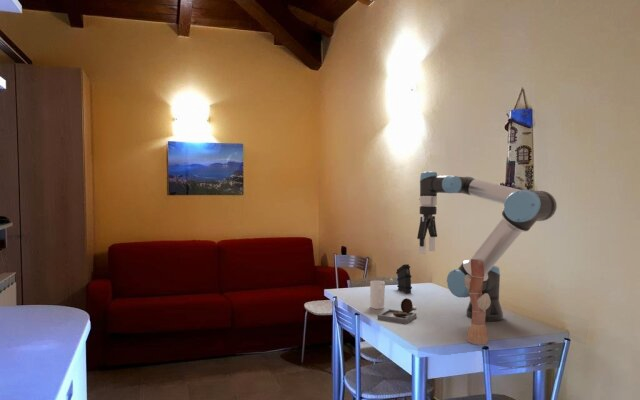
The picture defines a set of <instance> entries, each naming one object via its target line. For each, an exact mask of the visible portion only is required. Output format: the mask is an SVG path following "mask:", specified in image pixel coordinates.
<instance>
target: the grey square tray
mask: <svg viewBox="0 0 640 400" xmlns="http://www.w3.org/2000/svg"><path fill="white" fill-rule="evenodd" d="M395 312H403V311H402V310H397V309H391V308H389V309H387V310H385V311H383V312H381V313H379V314H377V320H381V321H385V322H387V321H388V322H393V323H398V322H399V323H400V324H405V325H406V324H408V323H410V322H411V321H413V320H414V319H416V318H417V314H418V313H417V312H411V311H410V312H409V313H407V314H409V315H408V316H394V315H393V314H394V313H395ZM399 323H398V324H399Z"/></svg>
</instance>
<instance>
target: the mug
mask: <svg viewBox="0 0 640 400" xmlns="http://www.w3.org/2000/svg"><path fill="white" fill-rule="evenodd" d="M385 289H386V281H384V280H371V281H370V288H369V292H370V296H369V297H370V304H369V305H370V308H371V309H376V310H382V309H384V308H385V291H386V290H385Z"/></svg>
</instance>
